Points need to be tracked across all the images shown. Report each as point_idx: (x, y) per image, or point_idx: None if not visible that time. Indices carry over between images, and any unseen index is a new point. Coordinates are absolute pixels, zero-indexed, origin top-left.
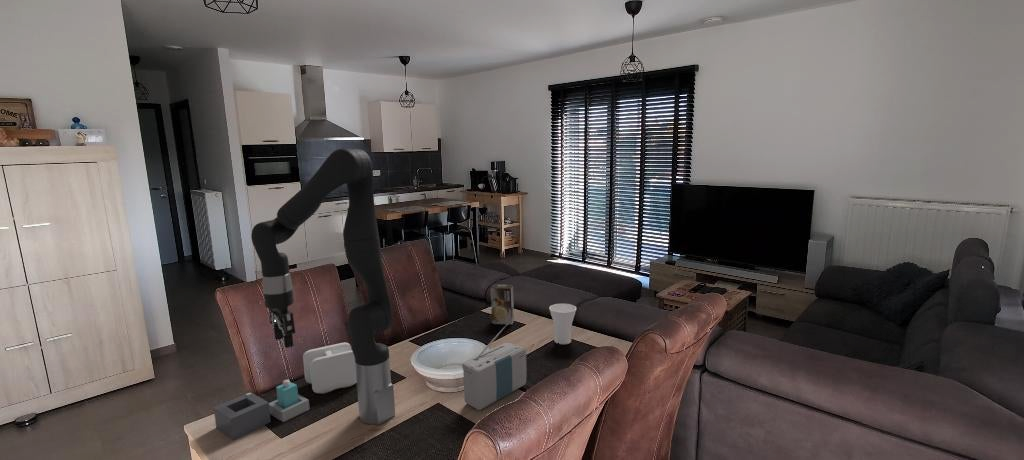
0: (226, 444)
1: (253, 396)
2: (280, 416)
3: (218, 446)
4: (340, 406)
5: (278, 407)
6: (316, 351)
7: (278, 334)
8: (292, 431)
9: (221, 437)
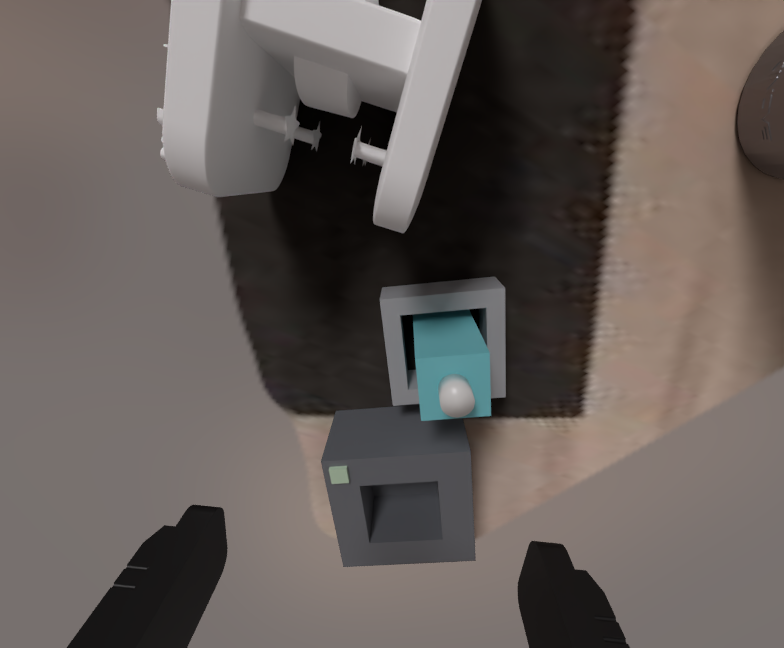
0: None
1: (368, 467)
2: None
3: None
4: (590, 173)
5: None
6: (220, 90)
7: (194, 595)
8: (579, 381)
9: None
